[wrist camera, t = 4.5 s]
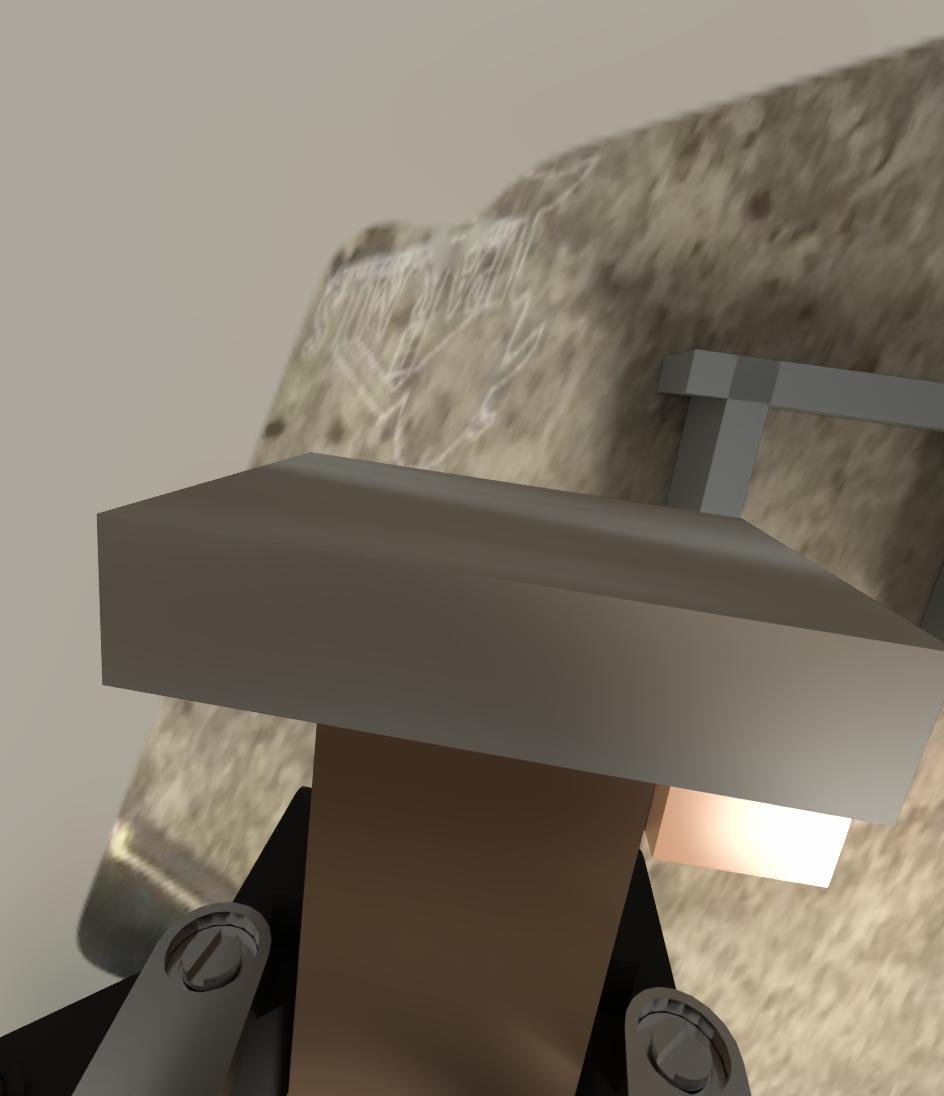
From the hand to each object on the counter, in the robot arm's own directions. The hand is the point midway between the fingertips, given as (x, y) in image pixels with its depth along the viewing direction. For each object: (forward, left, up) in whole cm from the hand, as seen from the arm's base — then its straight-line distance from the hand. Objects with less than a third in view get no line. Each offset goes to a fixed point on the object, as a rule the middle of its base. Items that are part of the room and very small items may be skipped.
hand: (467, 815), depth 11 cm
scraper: (0, +1, 0) cm, 2 cm away
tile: (-11, +6, -14) cm, 19 cm away
